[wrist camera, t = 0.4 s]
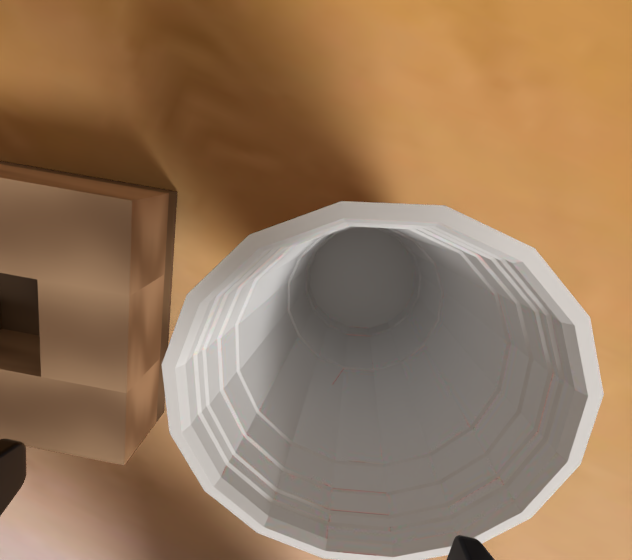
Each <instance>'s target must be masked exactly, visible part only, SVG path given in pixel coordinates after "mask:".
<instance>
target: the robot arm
mask: <svg viewBox="0 0 632 560" xmlns="http://www.w3.org/2000/svg"><path fill="white" fill-rule="evenodd" d="M25 477H26V447H25V445H24V443H22V442H20V441H16V440H11V439H0V516H1V514H2V513H3V511H4V510H5V509H6V507H7V506H8V505H9V503H10V502H11V500H12V499H13V498H14V496H15V495H16V494H17V492H18V491H19V489H20V488H21V486H22V485H23V483H24V480H25ZM447 560H494V558H493V557H492V556H491V555H490V553H489V552H488V551H487V550H486V548H485V547H484V546H483V545H482V544H481V542H480V541H479V540H477V539H475V538H472V537H467V536H462V535H457V536H456V537H455V538H454V540H453V543H452V546H451V549H450V552H449V555H448V558H447Z"/></svg>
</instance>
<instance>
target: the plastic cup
mask: <svg viewBox="0 0 632 560" xmlns="http://www.w3.org/2000/svg"><path fill="white" fill-rule="evenodd" d="M162 373H163V382H164V390H165V399H166V407H167V416H168V424H169V432H170V434H171V436H172V438H173V439H174V441H175V443H176V444H177V446H178V448H179V449H180V451H181V453H182V454H183V456H184V458H185V459H186V461H187V463H188V464H189V466H190V468H191V469H192V471H193V473H194V474H195V476H196V478H197V479H198V481H199V483H200V484H201V486H202V488H203V489H204V491H205V492H207V493H208V494H209V495H210V496H212V497H213V498H214V499H215V500H217V501H218V502H219V503H220V504H222V505H223V506H224V507H225V508H227V509H228V510H229V511H230V512H232V513H233V514H234V515H235V516H237V517H238V518H239V519H240V520H242V521H243V522H244V523H245V524H247V525H248V526H249V527H250V528H252V529H253V530H254V531H256V532H257V533H259V534H261V535H264V536H266V537H269V538H272V539H274V540H277V541H279V542H282V543H285V544H287V545H290V546H292V547H295V548H297V549H300V550H303V551H305V552H308V553H310V554H313V555H316V556H318V557H321V558H325V559H336V560H423V559H429V558H434V557H440V556H445V555H449V552H450V549H451V546H452V543H453V540H454V538H455V537H456V536H457V535H462V536H467V537H472V538H475V539H477V540H479V541H480V542H481V544H482V543H484V542H486V541H488V540H490V539H491V538H493V537H495V536H497V535H499V534H501V533H503V532H505V531H507V530H509V529H511V528H513V527H515V526H517V525H518V524H520V523H522V522H524V521H526V520H528V519H530V518H532V516H533V515H534V514H535V513H536V512H537V511H538V510H539V509H540V508H541V507H542V506H543V504H544V503H545V502H546V501H547V500H548V499H549V498H550V497H551V496H552V495H553V494H554V493H555V491H556V490H557V489H558V488H559V487H560V486H561V485H562V484H563V483H564V482H565V481H566V480H567V478H568V477H569V476H570V475H571V474H572V473H573V472H574V471H575V470H576V469H577V468H578V466H579V465H580V464H581V461H582V458H583V455H584V452H585V449H586V446H587V443H588V440H589V437H590V434H591V431H592V428H593V425H594V422H595V419H596V416H597V413H598V410H599V407H600V404H601V401H602V398H603V395H604V394H603V388H602V382H601V377H600V371H599V365H598V360H597V354H596V348H595V343H594V337H593V331H592V326H591V320H590V317H589V315H588V314H587V313H586V312H585V310H584V309H583V308H582V307H581V305H580V304H579V303H578V302H577V300H576V299H575V298H574V297H573V295H572V294H571V293H570V292H569V290H568V289H567V288H566V287H565V285H564V284H563V283H562V282H561V280H560V279H559V278H558V277H557V276H556V274H555V273H554V272H553V271H552V269H551V268H550V267H549V266H548V264H547V263H546V262H545V261H544V259H543V258H542V257H541V256H540V254H539V253H538V252H537V251H536V249H535V248H533V247H531V246H529V245H527V244H524V243H522V242H520V241H518V240H516V239H514V238H512V237H510V236H508V235H506V234H504V233H501V232H499V231H497V230H495V229H493V228H491V227H489V226H487V225H485V224H483V223H481V222H478V221H476V220H474V219H472V218H470V217H468V216H466V215H464V214H462V213H460V212H457V211H455V210H453V209H451V208H449V207H447V206H442V205H419V204H396V203H373V202H350V201H340V202H338V203H335V204H332V205H329V206H327V207H324V208H321V209H318V210H316V211H313V212H310V213H307V214H305V215H302V216H299V217H296V218H294V219H291V220H288V221H285V222H283V223H280V224H277V225H274V226H272V227H269V228H266V229H263V230H261V231H258V232H255V233H252V234H250V235H248V236H247V237H246V238H245V239H244V240H243V241H242V242H241V243H240V244H239V245H238V246H237V247H236V248H235V249H234V250H233V251H232V252H231V253H230V254H229V255H227V256H226V257H225V258H224V259H223V260H222V261H221V262H220V263H219V264H218V265H217V266H216V267H215V268H214V269H213V270H212V271H211V272H210V273H209V274H208V275H207V276H206V277H205V278H204V279H203V280H201V281H200V282H199V283H198V284H197V285H196V286H195V287H194V288H193V289H192V290H191V291H190V292H189V293H188V294H187V296H186V299H185V301H184V304H183V307H182V310H181V312H180V315H179V318H178V321H177V323H176V326H175V329H174V332H173V334H172V337H171V340H170V343H169V346H168V348H167V351H166V354H165V357H164V359H163V362H162Z"/></svg>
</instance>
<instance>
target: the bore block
mask: <svg viewBox="0 0 632 560" xmlns="http://www.w3.org/2000/svg"><path fill="white" fill-rule="evenodd" d="M176 206H177V192H176V191H171V190H165V189H159V188H153V187H148V186H142V185H136V184H130V183H124V182H119V181H113V180H107V179H101V178H95V177H90V176H84V175H78V174H72V173H66V172H61V171H55V170H49V169H43V168H37V167H32V166H26V165H20V164H14V163H8V162H3V161H0V439H11V440H16V441H20V442H22V443H24V445H25V446H28V447H33V448H38V449H43V450H48V451H53V452H58V453H63V454H68V455H74V456H79V457H84V458H89V459H94V460H99V461H104V462H109V463H114V464H119V465H125V464H126V463H127V461H128V460H129V459H130V457H131V456H132V455H133V453H134V452H135V450H136V449H137V448H138V446H139V445H140V444H141V442H142V441H143V440H144V438H145V437H146V436H147V434H148V433H149V432H150V430H151V429H152V428H153V426H154V425H155V423H156V422H157V421H158V419H159V418H160V417H161V415H162V414H163V413H164V403H165V390H164V382H163V373H162V362H163V359H164V357H165V354H166V351H167V348H168V337H169V321H170V304H171V288H172V271H173V255H174V238H175V222H176Z"/></svg>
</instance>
